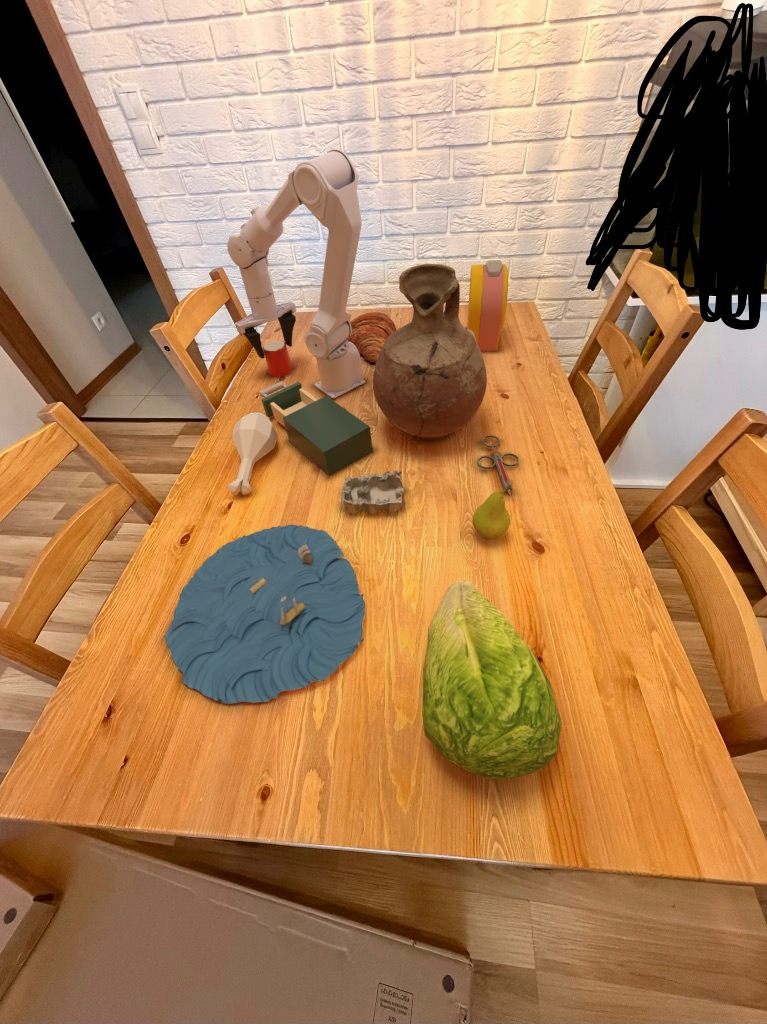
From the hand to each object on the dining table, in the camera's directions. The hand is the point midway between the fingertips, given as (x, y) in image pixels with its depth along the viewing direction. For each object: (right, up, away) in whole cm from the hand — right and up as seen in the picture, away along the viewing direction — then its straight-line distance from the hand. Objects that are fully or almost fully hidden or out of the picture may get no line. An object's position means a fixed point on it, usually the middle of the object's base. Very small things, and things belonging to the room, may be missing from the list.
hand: (275, 350), depth 111 cm
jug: (+36, -21, -15) cm, 44 cm away
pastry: (+23, +5, +9) cm, 26 cm away
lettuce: (+38, -61, -51) cm, 88 cm away
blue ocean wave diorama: (+10, -53, -42) cm, 69 cm away
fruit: (+43, -43, -35) cm, 70 cm away
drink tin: (0, -4, +4) cm, 5 cm away
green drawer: (+7, -18, -11) cm, 22 cm away
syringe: (+48, -31, -25) cm, 62 cm away
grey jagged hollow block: (+24, -37, -28) cm, 53 cm away
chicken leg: (+1, -30, -20) cm, 36 cm away
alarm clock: (+52, +5, +7) cm, 52 cm away
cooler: (+15, -25, -17) cm, 34 cm away
